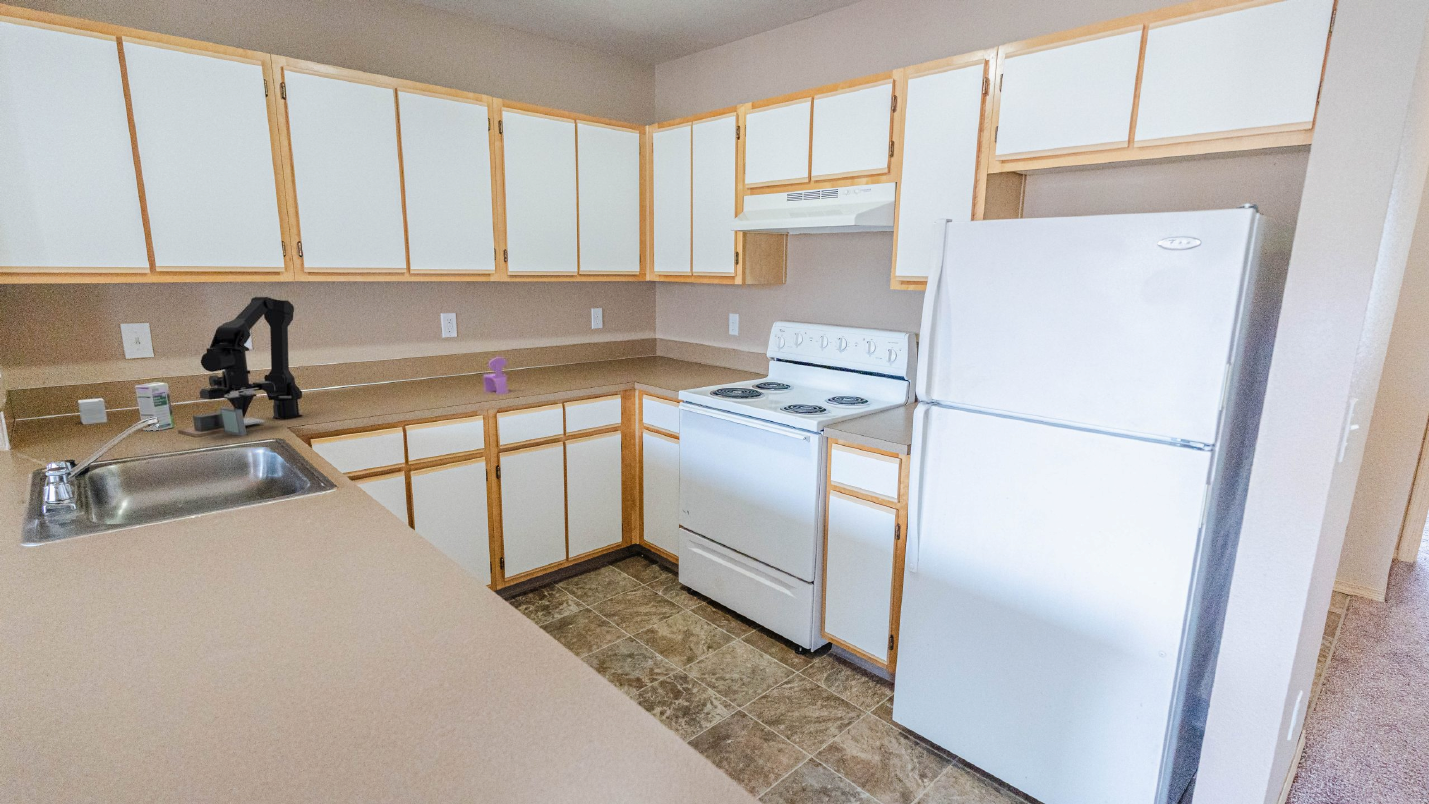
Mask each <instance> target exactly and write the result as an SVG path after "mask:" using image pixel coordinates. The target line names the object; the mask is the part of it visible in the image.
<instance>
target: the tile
mask: <svg viewBox="0 0 1429 804" xmlns="http://www.w3.org/2000/svg"><path fill="white" fill-rule="evenodd" d="M219 412H221V416H222V420H223V425H224V430H225V432H224V434H229V435H234V436H239V437H245V436H247V430H246V425H245V424H244V419H245V418H243V414H242V409H236V408H234V407H230V406H229V407H228V406H222V407H219Z"/></svg>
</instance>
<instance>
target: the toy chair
mask: <svg viewBox="0 0 1429 804" xmlns="http://www.w3.org/2000/svg"><path fill="white" fill-rule="evenodd" d="M506 364H507V360H506V359H505V358H504V357H503V356H498V357H494V358H492V359H491V360H490V361H489V362H488V366H489V369H490V370H492V371H493V372H494V373H490V374H483V378H482V379H483V382H484V393H490V392H496V393H495V395H503V394H508V393H510V391H509V388H508V387H507V386H508V385H507V380H508V377H507V374H505V373H503V368H504V367H505V366H506Z"/></svg>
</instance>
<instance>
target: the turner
mask: <svg viewBox="0 0 1429 804" xmlns="http://www.w3.org/2000/svg"><path fill="white" fill-rule="evenodd" d="M243 419H244V424H245V426H250V425H255V424H256V425H257V424H260V423H265V420H264V419H261V418H255V417H254V418H253V417H246V418H245V417H244V418H243ZM192 420H193V421H192V422H193V427H194V428H195V431H200V432H204V431H209V430H215V429H220V428H224V425H223V420H222V416H221V411H217V412H216V411H215V412H209V413H204V414H203V413H202V414H196V415H192Z"/></svg>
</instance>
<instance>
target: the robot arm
mask: <svg viewBox="0 0 1429 804" xmlns="http://www.w3.org/2000/svg"><path fill="white" fill-rule="evenodd" d="M250 300H251V301H250V302H249V303H247V306H245V307H244V308H243V310H242V311H241V312H240V313H238V315H237V316H236V317H235V318H234V319H232V320H229V321H226V322H224V323H222V324H221V325H219V326H218V327H217V328H216V330H215V332H214V335H213V337H212V339H211V344H210V345H209V347H207V348H206V353H204V354H203V355H202V356H201V359H200V365H201V367H202V368H203V369H204V370H205V371H208V372H211V373H214V372H219V371H222V372H221V374H222V375H221V376H218V375H217V374H216V375H210V376H208V384H209V387H206V388H201V389H200V391H199V399H202V400H208V401H209V400H210V401H211V400H212V401H213V400H218V399H226V400H227V401H228V402H229V403H230V404H231V406H232V408H236V409H242V414H243V419H245V417H246V414H247V412H248V410H249V407H250V405H251V403H252V401H253V399H254V397H257V393H254V392H255V391H256V392H257V391H263V392H264V393H266V395H267V399H268V401H273V404H272V409H273V415H272V418H276V419H281V420H286V419H292V418H297V417H302V416H303V414H301V413H300V409H299V401H298V400H301V399H302V398H303V390H301V389H300V388H299V386H298V385H297V384H296V380H295V379H296V378H295V376H294V375H293V373H292V372H291V371H290V368H289V366H290V365H289V361H290V360H289V328H288V327H289V326H290V324H291V323H292V321H294V312H295V307H294V305H293V303H291V302H290V301H289V300H287V299H286V300H282V299H275V298H272V297H269V296H255V297H252V298H251V299H250ZM262 317H263V318H264V320H265V321H266V323H267V324H268V325H269V327H270V328H269V330H270V331H269V332H270V336H269V337H270V363H271V364H270V367H271V369H270V371H269V372H268V374H265V375H264V377H263V379H264V380H261V381H256V382H255V381H253V382H252V383H250V379H249V378H250V377H249V374H250V375H251V369H250V370H249V369H248V363H247V353H246V352H249V351H250V348H249V347H248V346H246V343H247V342H248V340H249V339H250V337H251V335H252V334H251V329H253V327H254V326H255V325H256V323H257V322H258V321H259V320H261V318H262Z"/></svg>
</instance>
